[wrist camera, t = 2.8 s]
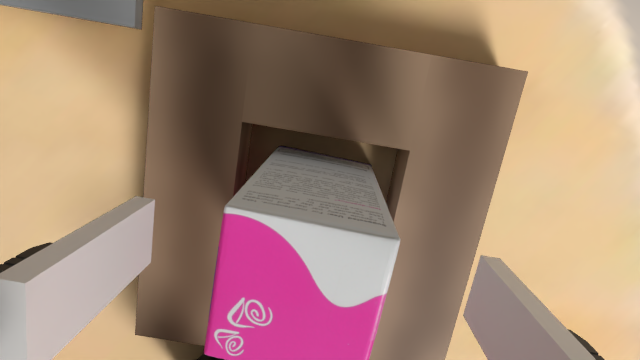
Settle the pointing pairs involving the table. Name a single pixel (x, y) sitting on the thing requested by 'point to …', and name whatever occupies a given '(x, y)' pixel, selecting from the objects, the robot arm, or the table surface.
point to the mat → (88, 10)
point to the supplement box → (302, 262)
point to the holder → (327, 120)
